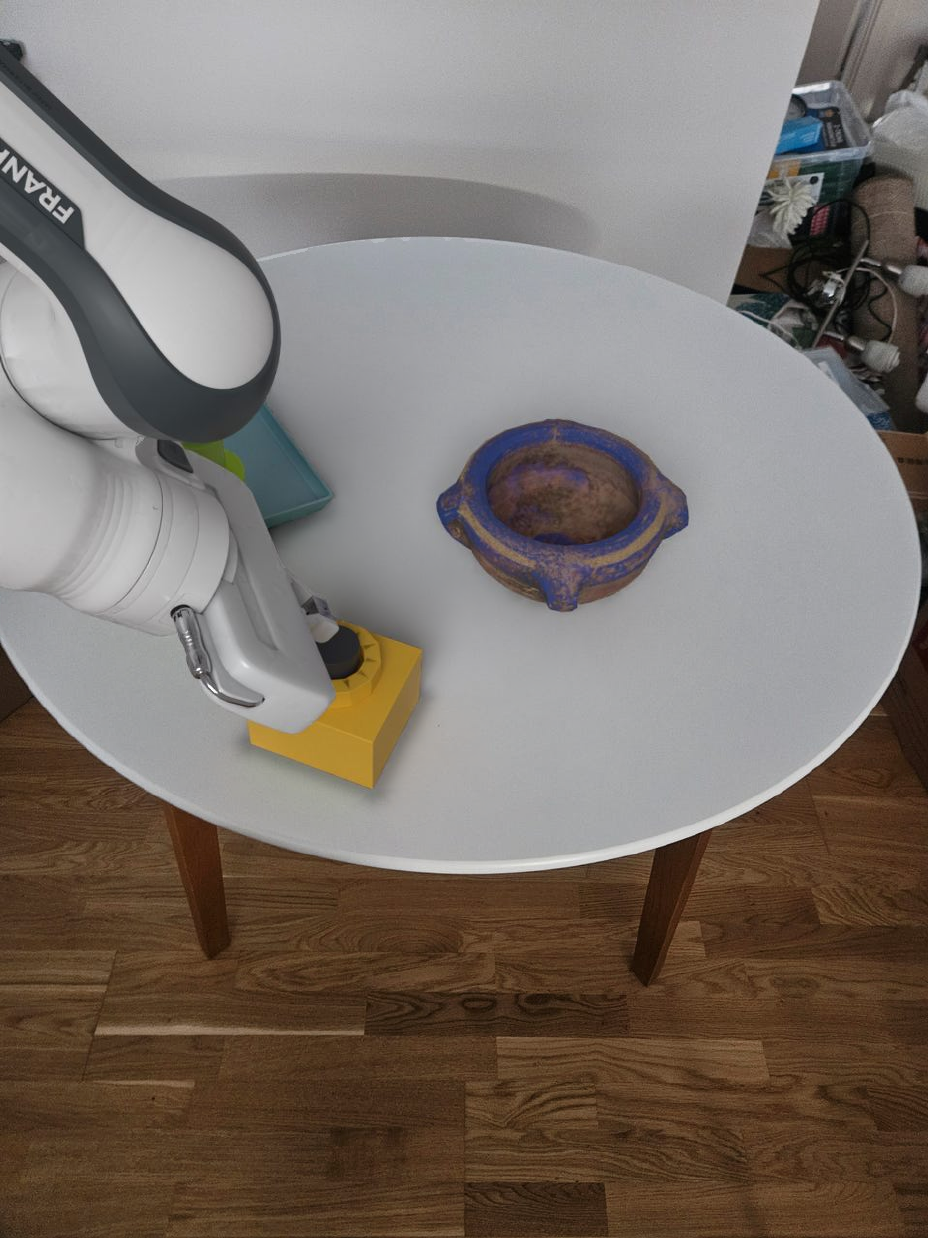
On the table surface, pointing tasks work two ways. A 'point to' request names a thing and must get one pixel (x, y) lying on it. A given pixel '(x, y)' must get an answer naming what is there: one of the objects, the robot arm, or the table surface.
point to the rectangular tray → (277, 470)
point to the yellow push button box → (357, 713)
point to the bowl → (562, 511)
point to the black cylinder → (340, 653)
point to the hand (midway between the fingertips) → (326, 620)
